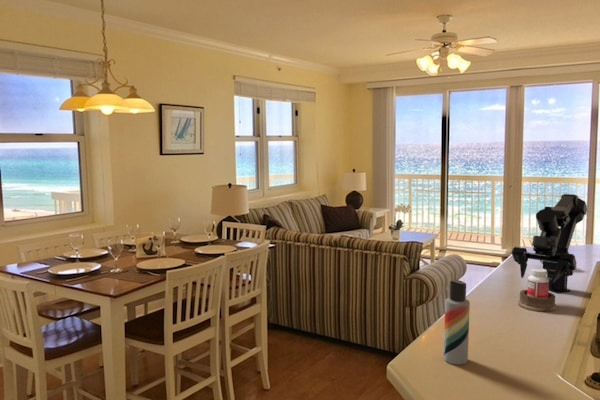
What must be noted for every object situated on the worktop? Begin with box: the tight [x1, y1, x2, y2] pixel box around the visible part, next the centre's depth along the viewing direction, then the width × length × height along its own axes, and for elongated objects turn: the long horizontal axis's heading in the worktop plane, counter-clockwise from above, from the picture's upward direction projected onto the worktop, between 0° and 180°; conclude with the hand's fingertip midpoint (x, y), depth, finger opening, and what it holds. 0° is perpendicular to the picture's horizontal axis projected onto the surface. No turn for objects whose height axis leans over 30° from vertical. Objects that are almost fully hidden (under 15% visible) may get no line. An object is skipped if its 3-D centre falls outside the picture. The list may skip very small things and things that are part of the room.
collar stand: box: [517, 289, 557, 313], centre depth 161 cm, size 11×11×4 cm
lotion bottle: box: [443, 279, 471, 366], centre depth 121 cm, size 6×6×20 cm
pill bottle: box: [526, 267, 550, 298], centre depth 161 cm, size 6×6×11 cm
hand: (536, 279), depth 159 cm, fingers open, 9 cm apart
